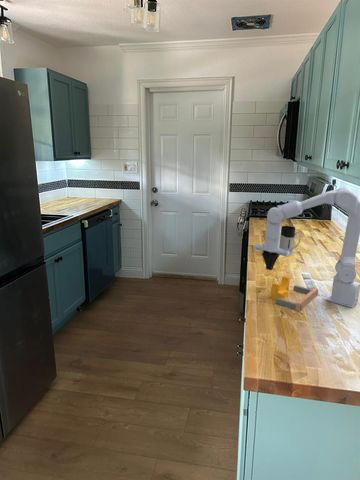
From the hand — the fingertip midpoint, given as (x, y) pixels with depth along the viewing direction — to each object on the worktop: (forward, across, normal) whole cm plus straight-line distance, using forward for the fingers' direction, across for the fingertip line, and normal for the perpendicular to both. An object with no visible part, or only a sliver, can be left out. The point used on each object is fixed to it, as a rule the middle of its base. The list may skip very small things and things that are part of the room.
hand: (269, 269), depth 140 cm
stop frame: (+9, -13, 0) cm, 16 cm away
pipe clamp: (+10, -6, 0) cm, 12 cm away
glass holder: (+10, +15, -57) cm, 60 cm away
